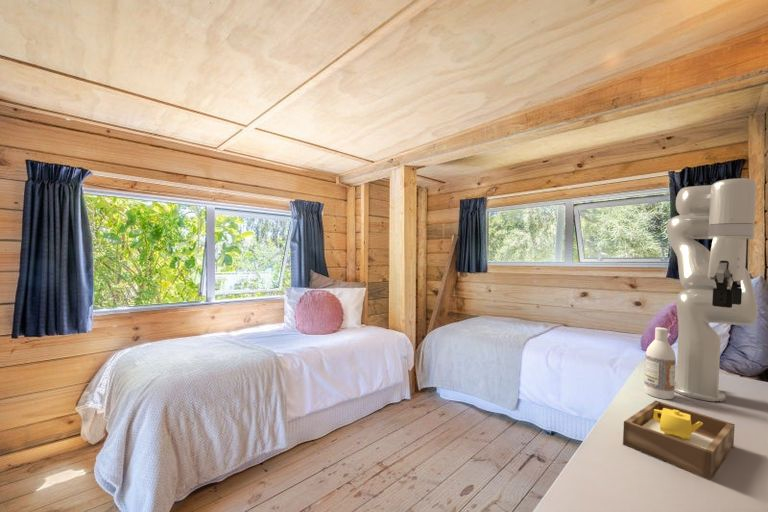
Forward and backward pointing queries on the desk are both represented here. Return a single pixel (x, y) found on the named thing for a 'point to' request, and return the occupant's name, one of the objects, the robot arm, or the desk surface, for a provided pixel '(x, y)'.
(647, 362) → the bath foam
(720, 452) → the box
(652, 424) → the plate
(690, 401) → the desk surface
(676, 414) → the teapot
